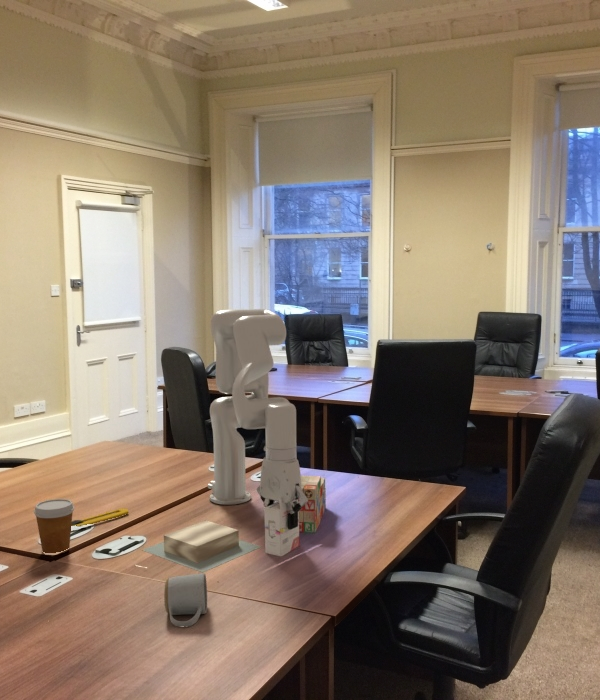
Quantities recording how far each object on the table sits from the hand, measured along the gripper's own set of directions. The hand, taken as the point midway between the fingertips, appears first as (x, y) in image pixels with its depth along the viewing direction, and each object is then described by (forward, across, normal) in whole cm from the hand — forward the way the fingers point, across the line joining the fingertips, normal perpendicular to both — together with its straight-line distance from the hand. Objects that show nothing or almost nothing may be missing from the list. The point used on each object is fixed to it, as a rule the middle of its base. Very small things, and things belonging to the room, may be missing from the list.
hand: (281, 524), depth 174 cm
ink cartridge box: (+7, 0, 0) cm, 7 cm away
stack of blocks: (+7, -9, +22) cm, 25 cm away
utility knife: (+7, -56, -17) cm, 59 cm away
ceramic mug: (+7, +8, -38) cm, 39 cm away
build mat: (+7, -16, -12) cm, 21 cm away
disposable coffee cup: (+7, -44, -35) cm, 57 cm away
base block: (+6, -16, -12) cm, 21 cm away
